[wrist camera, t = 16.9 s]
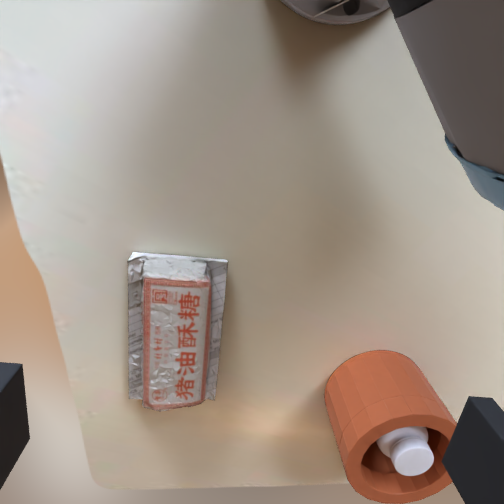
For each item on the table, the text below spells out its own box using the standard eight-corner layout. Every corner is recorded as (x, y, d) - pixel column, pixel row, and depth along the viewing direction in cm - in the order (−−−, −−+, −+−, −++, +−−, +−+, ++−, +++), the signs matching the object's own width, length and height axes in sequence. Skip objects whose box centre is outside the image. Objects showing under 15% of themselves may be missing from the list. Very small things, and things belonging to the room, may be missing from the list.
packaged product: (117, 268, 36) (228, 276, 36) (130, 248, 40) (228, 256, 41) (120, 421, 42) (214, 425, 43) (131, 390, 47) (215, 394, 48)
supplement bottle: (350, 404, 48) (378, 476, 39) (369, 370, 47) (402, 437, 38) (389, 414, 49) (425, 486, 40) (409, 381, 48) (451, 448, 39)
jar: (377, 332, 45) (415, 393, 36) (442, 385, 49) (492, 454, 40) (303, 397, 48) (320, 469, 39) (369, 443, 52) (399, 519, 43)
